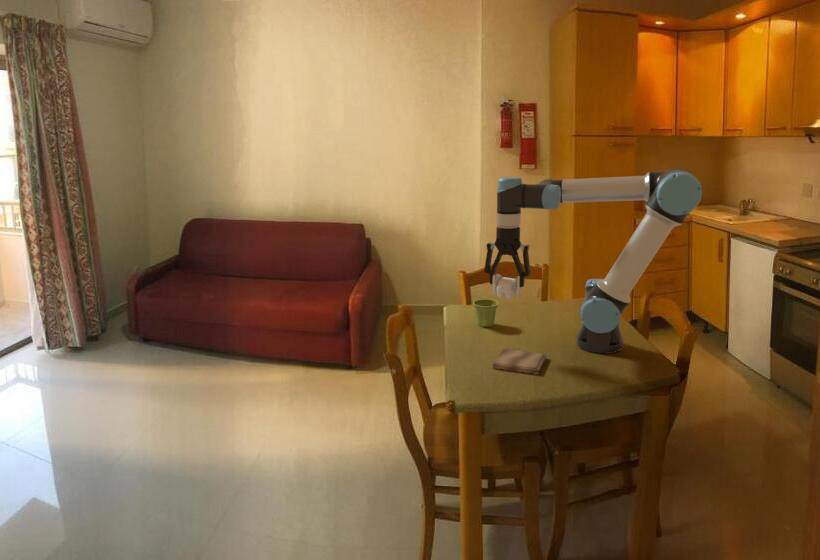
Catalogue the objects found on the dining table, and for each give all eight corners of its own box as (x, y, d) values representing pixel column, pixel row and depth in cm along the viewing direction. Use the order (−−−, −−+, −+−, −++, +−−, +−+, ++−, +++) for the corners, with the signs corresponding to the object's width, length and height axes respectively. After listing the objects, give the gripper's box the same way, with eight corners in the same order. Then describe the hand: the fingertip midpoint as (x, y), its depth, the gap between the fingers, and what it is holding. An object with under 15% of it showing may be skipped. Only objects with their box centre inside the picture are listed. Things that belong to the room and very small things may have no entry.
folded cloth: (546, 358, 203) (546, 353, 203) (538, 374, 191) (538, 369, 190) (503, 352, 208) (503, 348, 208) (492, 368, 196) (493, 363, 195)
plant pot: (485, 330, 230) (486, 307, 228) (467, 324, 237) (467, 302, 235) (503, 325, 236) (503, 303, 234) (484, 319, 243) (485, 297, 241)
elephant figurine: (524, 294, 209) (525, 273, 207) (511, 301, 201) (512, 279, 199) (503, 290, 213) (503, 270, 211) (490, 297, 205) (490, 276, 203)
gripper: (542, 226, 201) (539, 295, 206) (481, 222, 208) (480, 289, 214) (537, 229, 194) (534, 301, 200) (474, 226, 202) (473, 295, 208)
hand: (506, 295), depth 207 cm, fingers closed on elephant figurine, 7 cm apart
